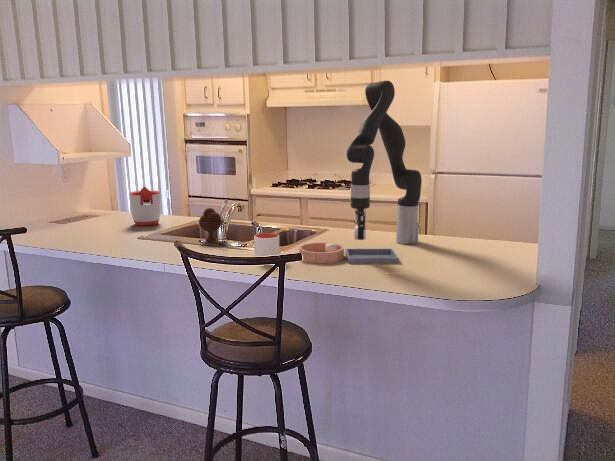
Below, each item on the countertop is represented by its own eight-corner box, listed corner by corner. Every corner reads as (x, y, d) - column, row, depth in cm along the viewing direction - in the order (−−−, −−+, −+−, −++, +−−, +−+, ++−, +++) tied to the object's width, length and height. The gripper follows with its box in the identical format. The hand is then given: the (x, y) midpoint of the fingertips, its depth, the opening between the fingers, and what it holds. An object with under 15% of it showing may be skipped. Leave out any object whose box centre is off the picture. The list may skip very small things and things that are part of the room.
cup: (282, 257, 230) (282, 233, 228) (275, 263, 221) (275, 239, 219) (259, 256, 233) (258, 232, 230) (251, 262, 223) (250, 237, 221)
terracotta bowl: (341, 252, 238) (341, 242, 237) (344, 264, 220) (345, 252, 219) (299, 252, 238) (299, 242, 237) (299, 264, 220) (299, 253, 219)
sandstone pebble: (336, 254, 231) (336, 243, 230) (337, 257, 227) (337, 245, 225) (325, 254, 231) (325, 243, 230) (325, 257, 226) (325, 245, 225)
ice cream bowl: (194, 241, 258) (193, 209, 255) (209, 236, 268) (208, 205, 265) (213, 244, 253) (211, 211, 250) (227, 239, 263) (226, 207, 260)
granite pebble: (365, 237, 228) (365, 225, 226) (366, 239, 223) (366, 227, 222) (353, 237, 227) (353, 225, 226) (354, 240, 223) (354, 227, 222)
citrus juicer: (132, 228, 287) (130, 189, 282) (130, 222, 303) (127, 185, 298) (164, 226, 292) (162, 188, 288) (160, 220, 308) (158, 184, 304)
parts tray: (391, 254, 235) (392, 248, 234) (398, 264, 220) (398, 258, 219) (345, 254, 235) (345, 248, 234) (348, 264, 219) (348, 258, 219)
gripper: (372, 198, 215) (371, 241, 218) (367, 192, 228) (367, 233, 232) (352, 198, 214) (352, 242, 218) (349, 193, 228) (349, 234, 232)
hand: (359, 237), depth 225 cm, fingers closed on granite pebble, 4 cm apart
